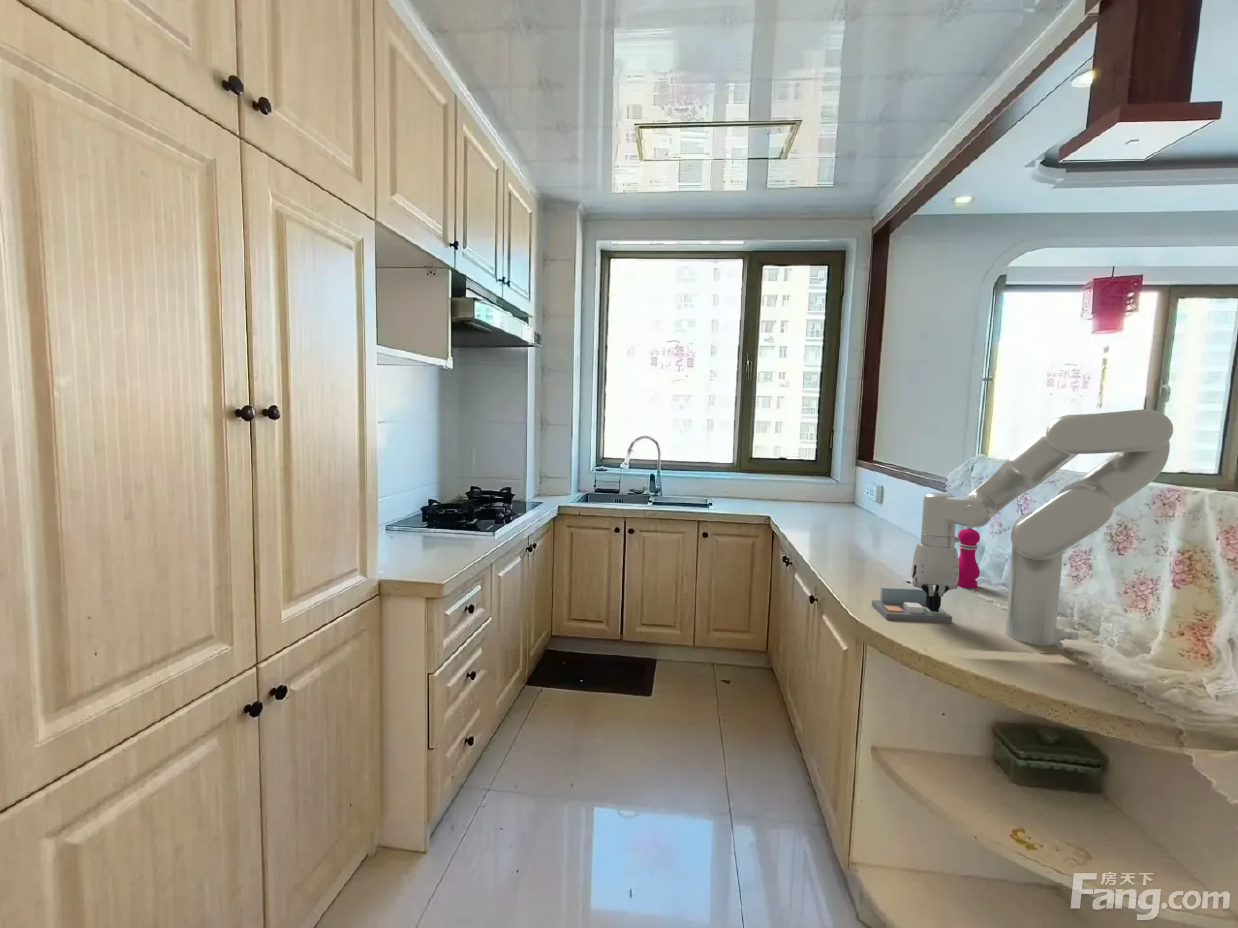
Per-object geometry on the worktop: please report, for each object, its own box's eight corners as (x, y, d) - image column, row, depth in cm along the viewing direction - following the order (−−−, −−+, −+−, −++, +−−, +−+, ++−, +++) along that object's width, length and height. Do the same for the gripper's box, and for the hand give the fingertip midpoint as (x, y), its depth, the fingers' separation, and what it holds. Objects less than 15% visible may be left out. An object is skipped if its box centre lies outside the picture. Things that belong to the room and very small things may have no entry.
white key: (917, 613, 144) (917, 602, 144) (923, 618, 141) (923, 607, 140) (902, 613, 145) (903, 602, 144) (908, 618, 141) (909, 606, 141)
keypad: (932, 613, 149) (933, 588, 148) (951, 628, 138) (953, 601, 138) (871, 610, 150) (872, 586, 150) (885, 624, 140) (887, 598, 139)
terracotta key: (897, 616, 145) (897, 606, 145) (902, 621, 141) (903, 610, 141) (883, 616, 145) (883, 605, 145) (888, 621, 142) (888, 610, 141)
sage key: (936, 618, 144) (937, 607, 143) (943, 623, 140) (944, 612, 140) (922, 618, 144) (923, 607, 144) (928, 623, 141) (929, 611, 140)
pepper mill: (983, 589, 171) (987, 526, 169) (957, 587, 172) (961, 525, 171) (973, 582, 178) (977, 522, 176) (948, 581, 179) (952, 521, 178)
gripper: (960, 538, 143) (955, 606, 145) (901, 536, 145) (897, 603, 146) (976, 545, 136) (970, 616, 137) (913, 543, 137) (908, 613, 139)
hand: (932, 609), depth 142 cm, fingers closed
